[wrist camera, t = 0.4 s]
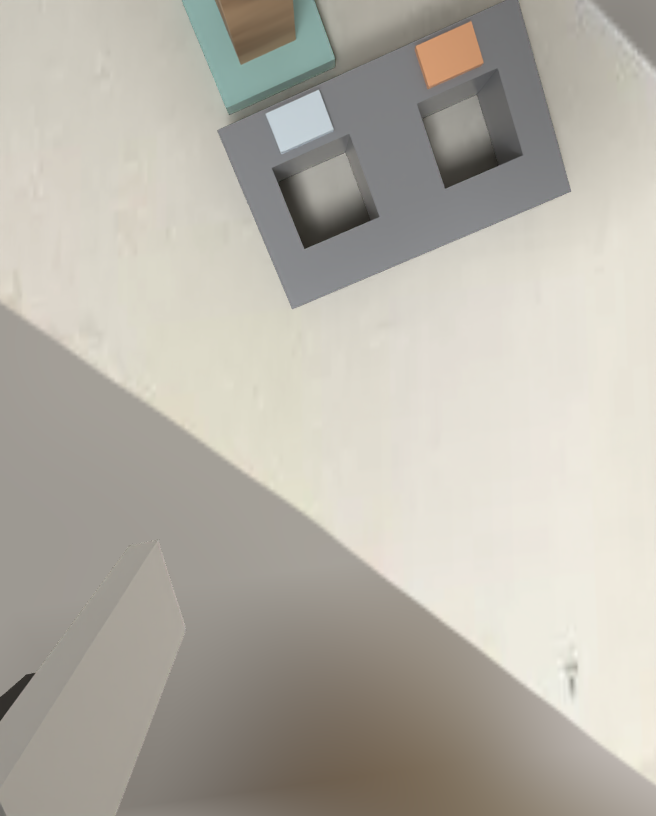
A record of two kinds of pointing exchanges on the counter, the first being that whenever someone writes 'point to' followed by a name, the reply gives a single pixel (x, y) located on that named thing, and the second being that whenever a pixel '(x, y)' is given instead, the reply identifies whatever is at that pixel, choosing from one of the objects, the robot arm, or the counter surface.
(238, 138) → the port box
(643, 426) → the counter surface
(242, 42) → the plug
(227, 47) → the plate
